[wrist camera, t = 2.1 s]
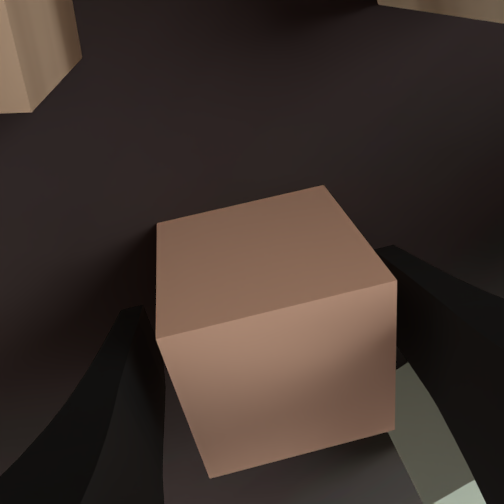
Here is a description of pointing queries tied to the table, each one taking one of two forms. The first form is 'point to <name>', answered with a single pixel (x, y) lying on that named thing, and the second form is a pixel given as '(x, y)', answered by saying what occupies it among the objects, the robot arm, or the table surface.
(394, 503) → the table surface
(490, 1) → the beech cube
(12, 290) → the table surface
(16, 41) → the tan cube
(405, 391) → the sage painted cube
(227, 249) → the terracotta cube
